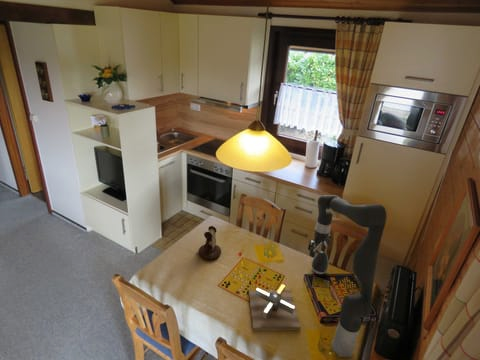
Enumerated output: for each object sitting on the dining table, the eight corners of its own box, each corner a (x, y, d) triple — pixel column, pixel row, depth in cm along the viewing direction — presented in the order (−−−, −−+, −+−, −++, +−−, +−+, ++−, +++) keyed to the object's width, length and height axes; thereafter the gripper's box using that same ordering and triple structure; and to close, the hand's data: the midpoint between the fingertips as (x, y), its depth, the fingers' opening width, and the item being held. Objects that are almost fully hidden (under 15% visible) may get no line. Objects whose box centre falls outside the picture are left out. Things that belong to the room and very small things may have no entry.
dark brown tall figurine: (216, 264, 193) (217, 238, 184) (194, 257, 197) (194, 232, 188) (224, 249, 206) (225, 225, 197) (204, 244, 209) (204, 220, 200)
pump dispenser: (314, 262, 200) (319, 244, 193) (329, 270, 194) (334, 251, 188) (307, 270, 193) (311, 252, 186) (322, 279, 187) (327, 260, 180)
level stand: (300, 330, 154) (300, 327, 153) (252, 330, 152) (253, 327, 151) (290, 292, 176) (290, 290, 175) (248, 292, 174) (249, 290, 173)
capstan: (283, 333, 150) (285, 321, 146) (245, 311, 159) (246, 300, 156) (300, 303, 167) (302, 292, 163) (264, 285, 176) (266, 275, 173)
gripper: (318, 236, 155) (312, 261, 162) (337, 229, 162) (331, 253, 169) (307, 228, 161) (303, 253, 167) (326, 222, 168) (321, 246, 175)
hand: (317, 253), depth 168 cm, fingers open, 8 cm apart
